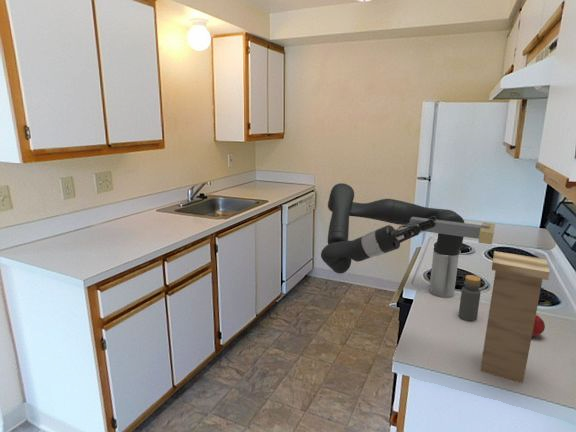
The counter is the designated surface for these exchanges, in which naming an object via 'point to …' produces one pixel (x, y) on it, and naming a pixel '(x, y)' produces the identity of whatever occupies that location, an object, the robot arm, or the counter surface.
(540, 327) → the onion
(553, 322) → the counter surface
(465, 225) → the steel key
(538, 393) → the counter surface
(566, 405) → the counter surface
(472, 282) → the bottle
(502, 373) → the wooden stand
